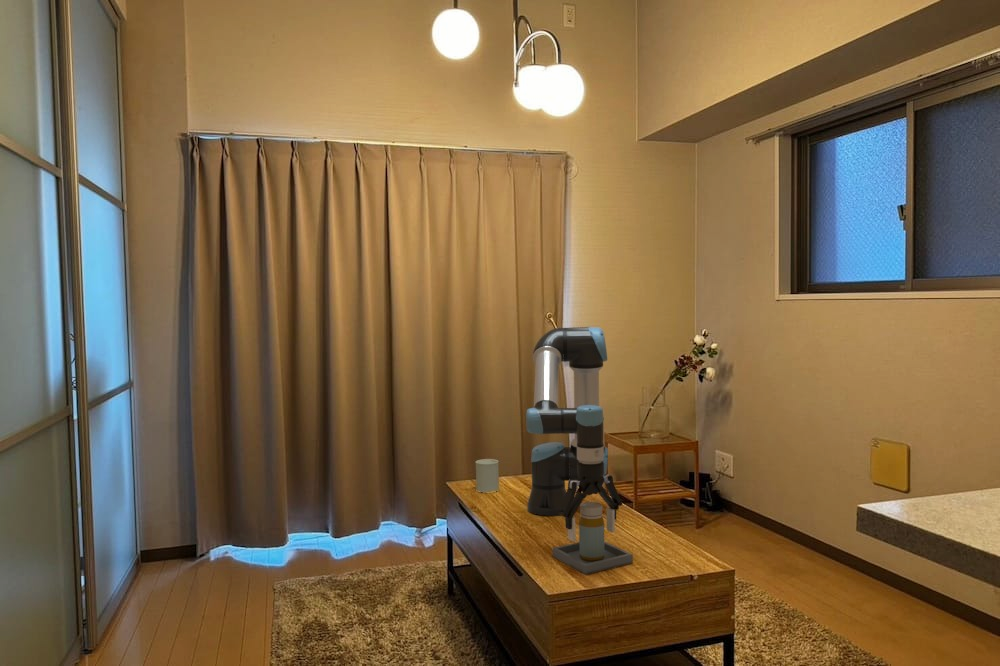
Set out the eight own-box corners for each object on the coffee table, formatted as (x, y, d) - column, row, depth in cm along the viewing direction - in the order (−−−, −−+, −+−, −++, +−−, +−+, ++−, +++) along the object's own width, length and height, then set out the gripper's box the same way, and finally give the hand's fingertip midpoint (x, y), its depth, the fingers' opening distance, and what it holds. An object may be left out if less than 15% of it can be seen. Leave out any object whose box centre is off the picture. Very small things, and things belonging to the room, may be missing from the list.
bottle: (589, 563, 189) (588, 510, 188) (574, 556, 195) (573, 503, 195) (609, 559, 192) (608, 506, 192) (595, 551, 198) (594, 500, 198)
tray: (552, 556, 197) (552, 548, 197) (597, 546, 205) (597, 538, 204) (585, 575, 183) (585, 565, 183) (632, 563, 190) (632, 554, 190)
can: (499, 493, 266) (498, 462, 265) (475, 493, 266) (475, 463, 265) (499, 487, 275) (498, 457, 275) (476, 487, 275) (475, 457, 274)
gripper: (560, 469, 183) (562, 547, 184) (633, 457, 195) (634, 531, 196) (545, 464, 190) (547, 539, 191) (617, 453, 202) (618, 524, 203)
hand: (591, 535), depth 194 cm, fingers open, 13 cm apart
